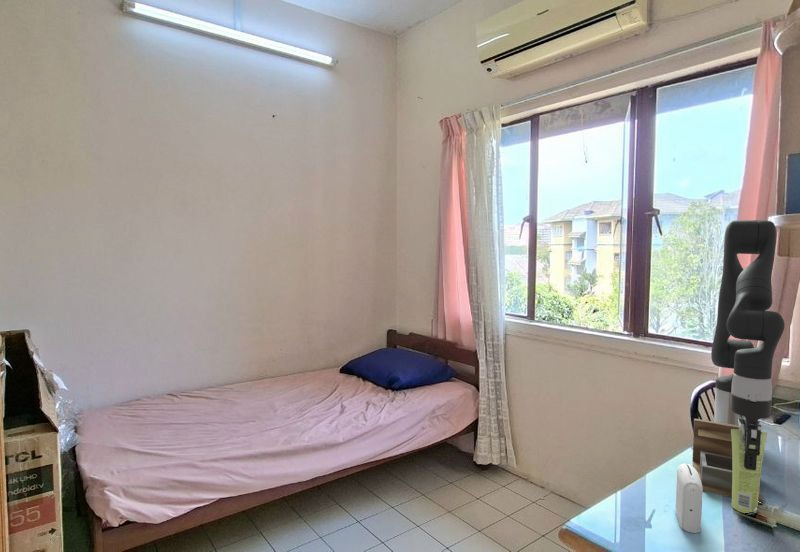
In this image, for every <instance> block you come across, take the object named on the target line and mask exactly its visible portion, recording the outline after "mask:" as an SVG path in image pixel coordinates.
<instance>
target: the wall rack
mask: <svg viewBox="0 0 800 552" xmlns="http://www.w3.org/2000/svg"><path fill="white" fill-rule="evenodd" d="M738 428H739V426H737V425H731V424H725V423H719V422H714V420H713V421H712V420H708V419H707V420H706V419H698V418H693V439H692V462H693V463H692V466H693V467H694V468H695V469H696V471H697V472H698V474H699V476H700V479H701V483H702V488H703V491H704V492H707V491H709V492H708V493H712V492H713V494H717V495H722V496H726V497H730V498H732V437H731V429H737V430H738ZM758 501H759V502H761V503H763V504H764V499H763V497H762V493H761V491H760V489H759V497H758Z"/></svg>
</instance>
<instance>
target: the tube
mask: <svg viewBox="0 0 800 552" xmlns="http://www.w3.org/2000/svg"><path fill="white" fill-rule="evenodd" d="M767 436H768V432H767V431H761V440H760V441H761V443H760V454H759V456H758V455H757V462H756V470H750V469H746V468H745V467H744V443H743V442H742V441H741V430H737V429H731V437H732V497H731V507H732V508H733V509H734V510H735V511H737V512H739V513H742V514H745V513H749V512H752V510H754V509H755V508H756V507H757V506H759V503H758V497H759V490H760V484H761V475H762V467H763V461H764V460H763V459H764V455H765V454H764V453H765V446H766V442H767ZM745 438H746V437H745ZM749 448H751V449H755V445H749Z"/></svg>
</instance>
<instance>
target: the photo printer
mask: <svg viewBox="0 0 800 552" xmlns="http://www.w3.org/2000/svg"><path fill="white" fill-rule="evenodd" d="M702 510H703V488H702V483H701V479H700V476H699V474H698V472H697V471H696V469H695V468H694V467H693V465H691V464H689V463H688V464H686V463H681V464H680V465H679V466H678V467H677V469H676V489H675V512H676V516H677V520H678V523H679V526H680V528H681V529H683V530H684V531H685V532H688V533H692V534H697V533H700V532H701V530H702V529H701V528H702V513H703V512H702Z"/></svg>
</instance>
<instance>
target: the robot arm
mask: <svg viewBox="0 0 800 552" xmlns="http://www.w3.org/2000/svg"><path fill="white" fill-rule="evenodd" d="M725 227H726V228H725V231H724V238H723V239H724V240H723V241H724V242H723V263H722V265H723V266H722V275H721V281H720V288H719V294H718V304H717V317H716V326H715V330H714V331H715V332H714V336H713V341H712V345H711V352H710V353H711V355H710V357H711V362H712V364H713V365H715V366H716V367H718V368H722V369H723V368H725V369H733V373H732V374H728V375H724V376H723V375H722V376H720V377H717V378H716V379H715V387H714V390H715V391H714V415H713V422H719V423H725V424H731V425H737V426H739V428H738V430H741V441H742V442H743V443H744V467H745V468H746V469H750V470H756V462H757V455H758V456H759V454H760V443H761V441H760V440H761V432H762V425H761V424H760V421H759V420H766V419H768V418H770V417H771V415H772V402H773V401H772V399H773V398H772V397H773V385H772V372H773V359H774V356H775V351H776V350H777V347H778V344H779V343H780V340H781V338H782V336H783V333H784V332H785V327H786V325H785V320H784V318H783V316H782V315H781V314H780V313H778V312H776V311H772V310H769V309H770V308H771V307H772V305H773V287H772V286H773V285H772V277H773V269H774V264H775V256H776V247H777V228H776V225H775V223H774V222H773V221H770V220H765V219H764V220H763V219H762V220H761V219H744V220H743V219H740V220H739V219H735V220H730V221H729V222H728V223H727V225H726V226H725ZM738 254H739V255H757V257H756V258H755V259H754V260H753V261H752V262H751V263H750V264H749V265H748V266H746V267H745V268H743V266H742V264H741V262H740V260H739V257H738ZM730 337H732V339H731V338H730ZM733 338H734V339H733ZM751 341H759V342H761V344H760V345H759V346H757V347H755V346H754V344H753V343H752V342H751ZM745 437H746V438H745ZM749 445H755V449H751V448H749Z"/></svg>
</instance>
